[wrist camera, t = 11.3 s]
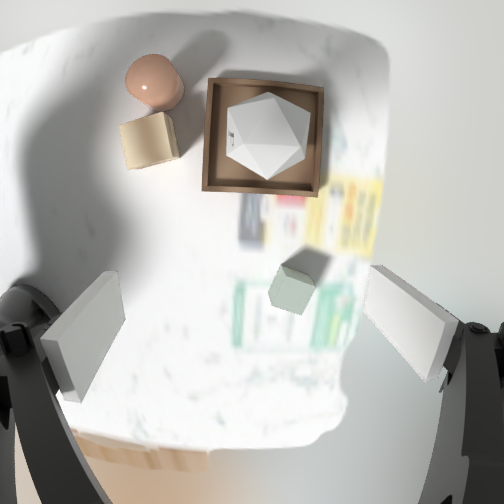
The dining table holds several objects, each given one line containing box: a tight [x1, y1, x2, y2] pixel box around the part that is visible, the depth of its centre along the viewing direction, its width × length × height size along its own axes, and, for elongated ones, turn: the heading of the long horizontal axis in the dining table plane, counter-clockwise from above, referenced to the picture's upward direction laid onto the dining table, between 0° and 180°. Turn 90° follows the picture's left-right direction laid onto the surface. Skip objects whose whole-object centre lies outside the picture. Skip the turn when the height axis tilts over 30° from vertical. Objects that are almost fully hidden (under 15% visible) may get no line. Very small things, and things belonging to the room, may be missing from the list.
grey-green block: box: [268, 265, 316, 315], centre depth 37 cm, size 4×4×4 cm
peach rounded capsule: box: [125, 54, 184, 111], centre depth 27 cm, size 5×5×7 cm
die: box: [226, 92, 311, 180], centre depth 28 cm, size 8×9×10 cm
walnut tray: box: [202, 78, 324, 197], centre depth 32 cm, size 13×13×2 cm
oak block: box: [119, 112, 180, 170], centre depth 30 cm, size 5×5×5 cm
